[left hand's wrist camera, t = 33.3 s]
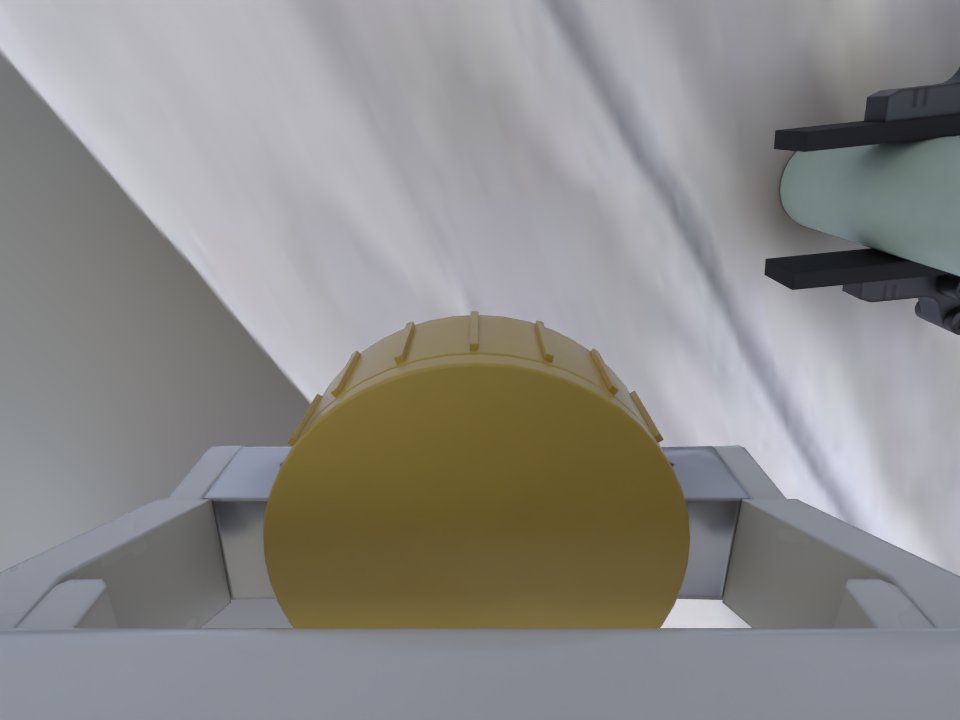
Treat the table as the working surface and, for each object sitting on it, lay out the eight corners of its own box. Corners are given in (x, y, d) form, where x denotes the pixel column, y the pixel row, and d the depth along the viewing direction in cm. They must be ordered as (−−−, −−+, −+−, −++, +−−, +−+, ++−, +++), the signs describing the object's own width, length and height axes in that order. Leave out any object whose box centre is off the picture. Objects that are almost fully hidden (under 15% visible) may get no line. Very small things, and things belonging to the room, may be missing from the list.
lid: (724, 394, 9) (784, 460, 8) (560, 655, 11) (576, 760, 10) (369, 247, 9) (338, 281, 7) (257, 557, 11) (210, 649, 9)
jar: (760, 187, 32) (1043, 254, 16) (834, 111, 31) (1223, 101, 15) (818, 246, 33) (1135, 362, 17) (892, 175, 32) (1310, 230, 16)
